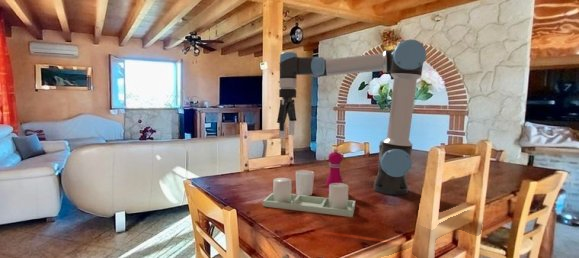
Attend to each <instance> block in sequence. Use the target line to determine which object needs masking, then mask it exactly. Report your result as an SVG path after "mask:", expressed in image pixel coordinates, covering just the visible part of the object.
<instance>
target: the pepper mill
mask: <svg viewBox="0 0 579 258" xmlns="http://www.w3.org/2000/svg"><path fill="white" fill-rule="evenodd" d="M327 158H328V161H329V163H328V164H329V174H328V176H327V179H326V183H325V186H326V187H327V189H326V192H327V193H328V194H329V184H331V183H343V179H342V176H341V170H340V169H341V167H342V166H341V165H342V164H341V163H342V161H343V155H342V153H340V152H338V148H334V149H333V151H332V152H330V153H329V155H328V157H327ZM343 184H344V183H343Z"/></svg>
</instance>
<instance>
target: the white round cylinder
mask: <svg viewBox="0 0 579 258" xmlns="http://www.w3.org/2000/svg"><path fill="white" fill-rule="evenodd" d="M328 198H329V206H328V208H335V209H344V210H348V200H349V185H348V184H346V183H331V184H329V193H328Z"/></svg>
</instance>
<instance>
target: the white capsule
mask: <svg viewBox="0 0 579 258" xmlns="http://www.w3.org/2000/svg"><path fill="white" fill-rule="evenodd" d="M292 182H293V181H292V178H286V177H277V178H274V179H273V182H272V183H273V184H272V185H273V187H272V188H273V189H272V190H273V201H275V202H283V203H291V194H292V184H293V183H292Z"/></svg>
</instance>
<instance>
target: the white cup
mask: <svg viewBox="0 0 579 258" xmlns="http://www.w3.org/2000/svg"><path fill="white" fill-rule="evenodd" d="M314 177H315V172H314V171H312V170H307V169H302V170H301V169H300V170H296V171H295V189H296V193H295V194H296V195H305V196H312V194H313V189H314V182H315V181H314V179H315V178H314Z"/></svg>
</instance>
